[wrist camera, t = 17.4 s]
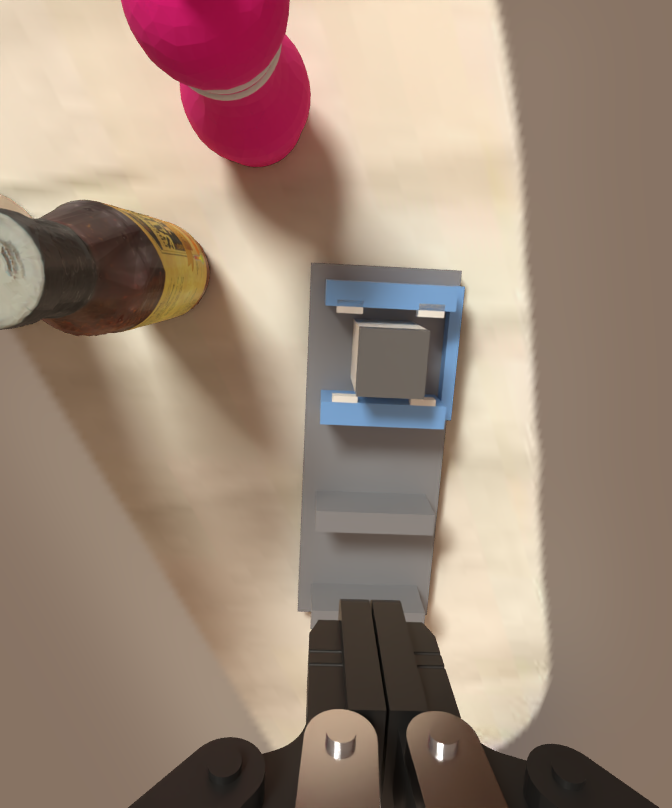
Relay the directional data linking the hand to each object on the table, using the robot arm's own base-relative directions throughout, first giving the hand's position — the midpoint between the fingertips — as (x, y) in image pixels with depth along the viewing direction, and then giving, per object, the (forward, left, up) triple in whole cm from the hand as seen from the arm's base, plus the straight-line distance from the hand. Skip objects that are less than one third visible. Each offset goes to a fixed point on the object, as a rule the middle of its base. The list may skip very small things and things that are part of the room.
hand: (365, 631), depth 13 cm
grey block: (+3, +4, -26) cm, 26 cm away
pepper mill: (-6, +18, -27) cm, 33 cm away
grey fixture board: (+3, -4, -27) cm, 27 cm away
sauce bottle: (-12, +8, -27) cm, 31 cm away
